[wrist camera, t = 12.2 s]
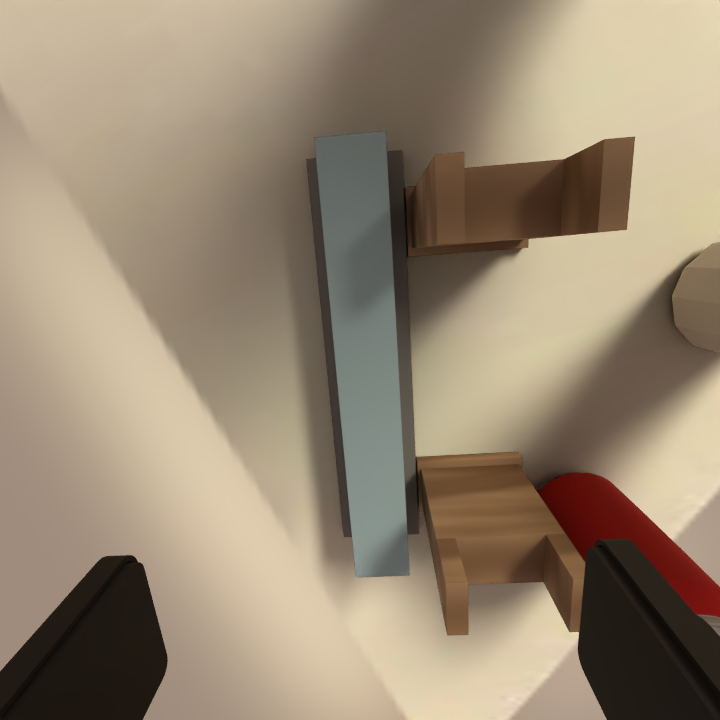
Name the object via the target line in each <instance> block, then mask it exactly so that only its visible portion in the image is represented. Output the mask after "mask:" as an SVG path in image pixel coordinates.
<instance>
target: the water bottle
mask: <svg viewBox="0 0 720 720" xmlns="http://www.w3.org/2000/svg"><path fill="white" fill-rule="evenodd" d="M672 303H673V314H674V323H675V326H676V327H677V328H678V330H679V331H680V332H681V333H682V334H683V335H684V336H685V338H686V339H687V340H688V341H689V342H690V343H691V344H692V345H693V346H696V347H699V348H703V349H706V350H710V351H713V352H717V353H720V242H717V243H714V244H711V245H710V246H709V247H708V248H707V249H706V250H704V251H703V252H702V253H701V254H700V255H699V256H697V257H696V258H695V259H694V260H693V261H692V262H690V263H689V264H688V265H687V266H686V267H685V268H684V270H683V272H682V274H681V276H680V278H679V281H678V283H677V285H676V287H675V290H674V292H673V294H672Z"/></svg>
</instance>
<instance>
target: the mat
mask: <svg viewBox="0 0 720 720" xmlns="http://www.w3.org/2000/svg"><path fill="white" fill-rule="evenodd" d="M306 160H307V170H308V180H309V190H310V201H311V211H312V221H313V231H314V241H315V251H316V261H317V271H318V281H319V291H320V301H321V311H322V322H323V332H324V342H325V352H326V362H327V372H328V382H329V392H330V402H331V412H332V422H333V432H334V443H335V453H336V463H337V473H338V483H339V493H340V503H341V513H342V523H343V533H344V537H352V531H351V521H350V510H349V500H348V489H347V478H346V468H345V457H344V447H343V436H342V426H341V415H340V405H339V394H338V383H337V373H336V362H335V352H334V341H333V331H332V320H331V310H330V299H329V288H328V278H327V267H326V257H325V246H324V236H323V225H322V215H321V204H320V193H319V183H318V172H317V162H316V158H313V159H306ZM387 165H388V184H389V202H390V221H391V239H392V258H393V276H394V295H395V313H396V332H397V350H398V369H399V387H400V406H401V424H402V443H403V461H404V480H405V498H406V517H407V534H419V526H418V503H417V481H416V458H415V436H414V413H413V390H412V368H411V345H410V322H409V300H408V277H407V254H406V232H405V209H404V186H403V164H402V150H401V151H390V152H387Z"/></svg>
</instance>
